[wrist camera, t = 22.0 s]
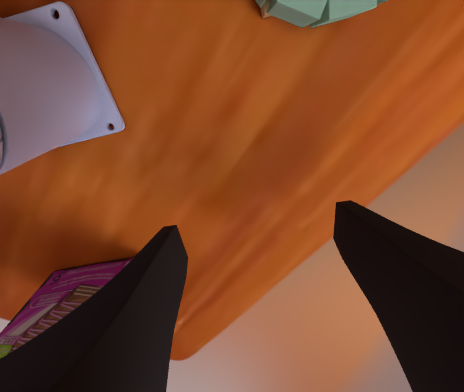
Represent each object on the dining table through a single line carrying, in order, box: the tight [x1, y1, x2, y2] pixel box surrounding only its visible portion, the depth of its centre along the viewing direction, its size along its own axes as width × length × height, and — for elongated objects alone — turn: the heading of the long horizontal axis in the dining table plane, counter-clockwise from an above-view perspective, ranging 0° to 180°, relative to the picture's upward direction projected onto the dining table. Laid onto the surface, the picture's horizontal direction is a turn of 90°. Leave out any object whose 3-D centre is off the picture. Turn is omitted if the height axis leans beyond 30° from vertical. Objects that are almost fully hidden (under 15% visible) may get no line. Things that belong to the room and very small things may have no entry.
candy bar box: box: [0, 258, 133, 359], centre depth 19 cm, size 11×5×16 cm, turn 102°
